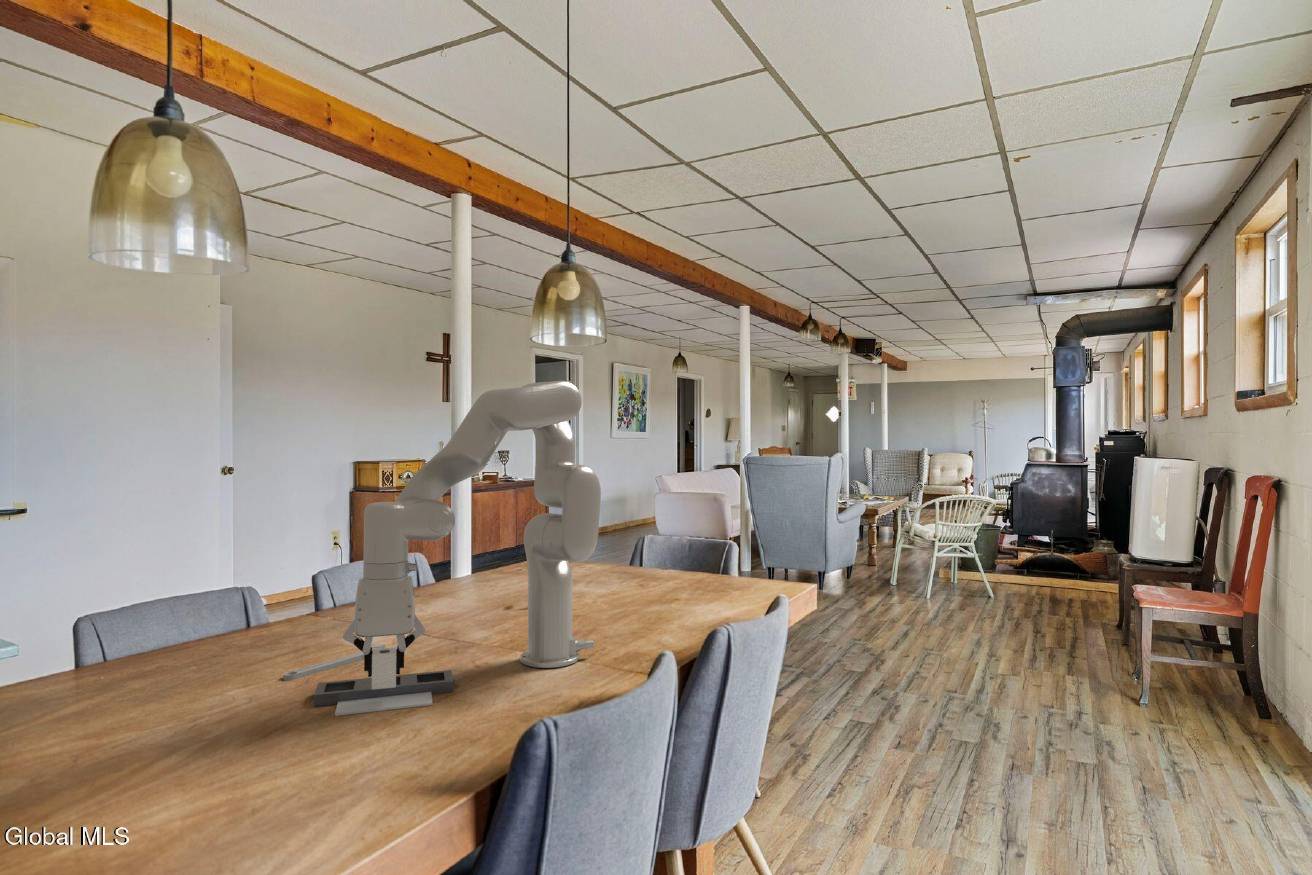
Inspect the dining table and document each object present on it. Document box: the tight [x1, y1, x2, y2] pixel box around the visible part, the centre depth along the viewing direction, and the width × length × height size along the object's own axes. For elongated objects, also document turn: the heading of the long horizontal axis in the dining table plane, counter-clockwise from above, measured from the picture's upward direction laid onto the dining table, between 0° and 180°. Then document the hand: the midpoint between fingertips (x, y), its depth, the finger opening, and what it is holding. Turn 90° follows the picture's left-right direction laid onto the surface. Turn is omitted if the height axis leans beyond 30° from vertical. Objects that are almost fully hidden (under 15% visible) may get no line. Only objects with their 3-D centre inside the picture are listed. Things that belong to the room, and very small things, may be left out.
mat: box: [334, 692, 433, 717], centre depth 129 cm, size 16×6×1 cm, turn 109°
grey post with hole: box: [371, 647, 397, 690], centre depth 129 cm, size 4×4×6 cm
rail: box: [313, 669, 454, 707], centre depth 136 cm, size 24×7×2 cm, turn 109°
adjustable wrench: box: [283, 643, 398, 681], centre depth 154 cm, size 25×6×2 cm, turn 142°
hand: (384, 672), depth 129 cm, fingers closed on grey post with hole, 4 cm apart
